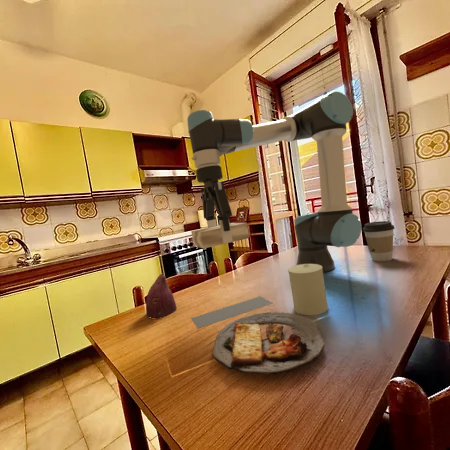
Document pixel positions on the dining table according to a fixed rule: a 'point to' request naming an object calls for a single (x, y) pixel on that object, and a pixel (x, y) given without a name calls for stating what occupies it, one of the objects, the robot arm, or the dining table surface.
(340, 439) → the dining table surface
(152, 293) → the vegetable
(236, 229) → the beige wavy block
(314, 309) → the can
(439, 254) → the dining table surface
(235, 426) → the dining table surface
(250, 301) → the mat
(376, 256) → the coffee cup
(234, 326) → the food plate
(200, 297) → the dining table surface
